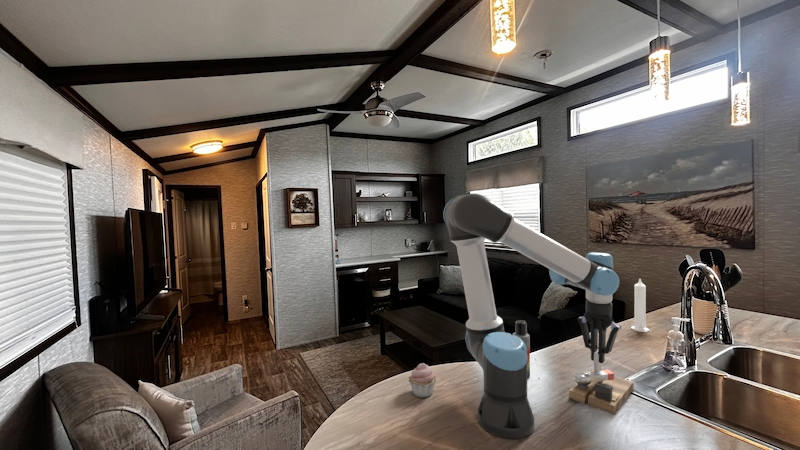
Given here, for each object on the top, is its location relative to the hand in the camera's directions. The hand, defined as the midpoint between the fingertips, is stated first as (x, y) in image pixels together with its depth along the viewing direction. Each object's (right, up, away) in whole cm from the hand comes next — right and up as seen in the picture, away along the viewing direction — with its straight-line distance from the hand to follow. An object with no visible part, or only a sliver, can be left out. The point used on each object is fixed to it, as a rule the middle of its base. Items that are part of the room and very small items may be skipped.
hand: (597, 371), depth 114 cm
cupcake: (-57, -7, -1) cm, 58 cm away
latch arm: (-3, -2, -3) cm, 4 cm away
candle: (+51, -3, +54) cm, 75 cm away
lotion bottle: (-22, -6, +9) cm, 24 cm away
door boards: (-1, -6, -3) cm, 7 cm away
